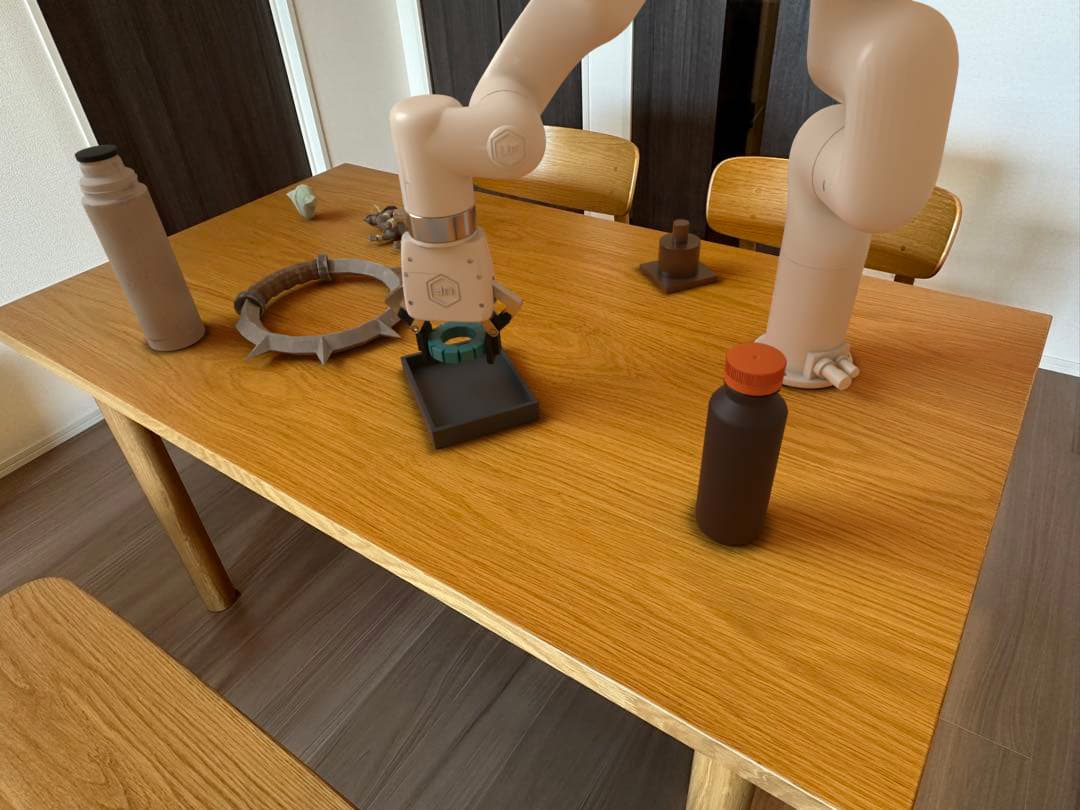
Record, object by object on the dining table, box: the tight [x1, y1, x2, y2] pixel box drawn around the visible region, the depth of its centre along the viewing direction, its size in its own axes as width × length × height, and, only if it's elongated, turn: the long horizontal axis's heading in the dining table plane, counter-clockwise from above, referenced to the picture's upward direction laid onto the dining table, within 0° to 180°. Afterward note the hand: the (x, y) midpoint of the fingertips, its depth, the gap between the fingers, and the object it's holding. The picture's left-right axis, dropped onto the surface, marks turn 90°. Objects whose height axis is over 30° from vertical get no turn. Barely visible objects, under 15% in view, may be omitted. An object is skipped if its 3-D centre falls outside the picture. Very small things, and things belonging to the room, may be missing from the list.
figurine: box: [362, 203, 406, 250], centre depth 129 cm, size 20×6×17 cm
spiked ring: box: [233, 253, 405, 367], centre depth 106 cm, size 33×5×30 cm
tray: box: [399, 338, 541, 450], centre depth 89 cm, size 17×13×3 cm
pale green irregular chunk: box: [286, 183, 318, 220], centre depth 136 cm, size 8×4×7 cm, turn 52°
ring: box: [427, 322, 487, 364], centre depth 84 cm, size 7×7×2 cm
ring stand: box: [639, 218, 718, 295], centre depth 109 cm, size 9×9×9 cm
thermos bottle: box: [74, 144, 206, 352], centre depth 96 cm, size 8×8×28 cm
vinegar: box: [694, 341, 789, 546], centre depth 64 cm, size 7×7×20 cm
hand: (460, 355), depth 86 cm, fingers closed on ring, 7 cm apart
